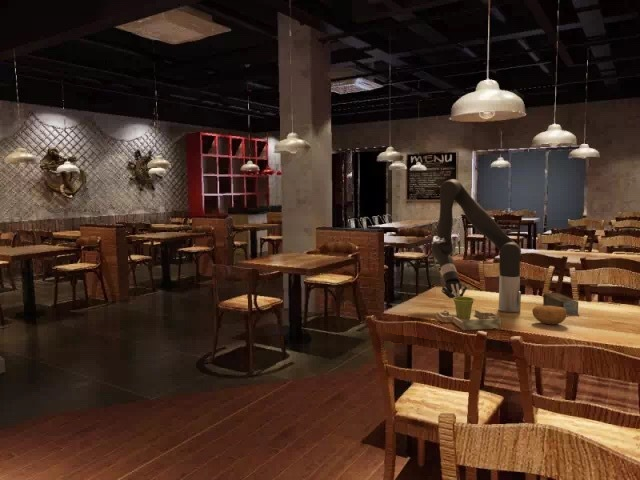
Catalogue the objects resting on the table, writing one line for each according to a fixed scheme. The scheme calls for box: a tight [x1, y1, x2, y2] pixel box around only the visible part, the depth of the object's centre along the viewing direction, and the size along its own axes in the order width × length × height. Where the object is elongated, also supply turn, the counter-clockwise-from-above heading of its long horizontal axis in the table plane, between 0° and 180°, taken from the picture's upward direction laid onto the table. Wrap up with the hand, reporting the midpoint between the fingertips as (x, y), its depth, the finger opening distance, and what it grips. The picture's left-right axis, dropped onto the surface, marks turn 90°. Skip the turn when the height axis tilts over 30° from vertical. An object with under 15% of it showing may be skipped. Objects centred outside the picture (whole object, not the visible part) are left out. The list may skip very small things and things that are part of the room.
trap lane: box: [435, 309, 501, 331], centre depth 228 cm, size 26×23×4 cm
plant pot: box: [452, 296, 475, 319], centre depth 237 cm, size 9×9×9 cm
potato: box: [531, 305, 568, 325], centre depth 224 cm, size 10×14×8 cm
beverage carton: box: [542, 292, 579, 315], centre depth 251 cm, size 8×19×7 cm, turn 4°
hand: (458, 304), depth 242 cm, fingers closed
